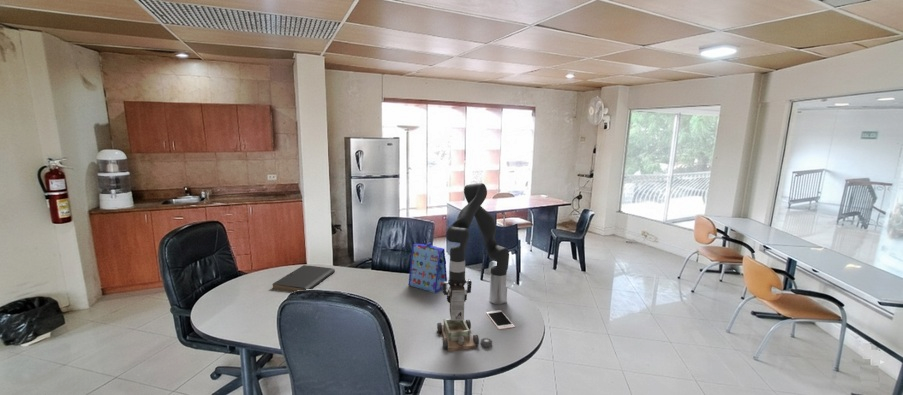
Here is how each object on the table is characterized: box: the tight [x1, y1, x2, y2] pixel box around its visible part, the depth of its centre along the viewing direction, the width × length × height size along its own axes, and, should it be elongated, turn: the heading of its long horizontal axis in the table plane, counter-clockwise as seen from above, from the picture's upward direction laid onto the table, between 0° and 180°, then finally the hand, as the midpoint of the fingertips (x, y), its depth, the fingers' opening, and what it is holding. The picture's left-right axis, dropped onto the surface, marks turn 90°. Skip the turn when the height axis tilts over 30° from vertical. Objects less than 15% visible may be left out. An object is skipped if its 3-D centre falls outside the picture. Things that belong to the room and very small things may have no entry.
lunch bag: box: [408, 242, 448, 294], centre depth 232 cm, size 22×14×29 cm, turn 58°
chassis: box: [436, 318, 480, 352], centre depth 176 cm, size 16×20×6 cm
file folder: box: [272, 264, 336, 292], centre depth 241 cm, size 33×4×24 cm
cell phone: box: [485, 309, 516, 331], centre depth 194 cm, size 9×18×1 cm, turn 16°
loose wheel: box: [480, 337, 493, 349], centre depth 171 cm, size 5×5×2 cm
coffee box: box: [449, 285, 466, 321], centre depth 176 cm, size 9×6×16 cm
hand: (456, 301), depth 176 cm, fingers closed on coffee box, 7 cm apart
